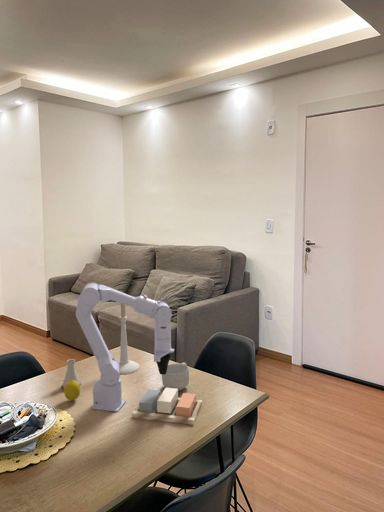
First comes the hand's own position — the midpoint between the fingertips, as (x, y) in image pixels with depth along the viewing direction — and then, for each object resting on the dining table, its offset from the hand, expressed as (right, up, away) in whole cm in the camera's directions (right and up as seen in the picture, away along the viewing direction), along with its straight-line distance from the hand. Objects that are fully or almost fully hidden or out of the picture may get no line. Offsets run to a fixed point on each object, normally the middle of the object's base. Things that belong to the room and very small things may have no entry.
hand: (163, 373), depth 146 cm
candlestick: (-19, -7, +31) cm, 37 cm away
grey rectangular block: (-4, -11, -4) cm, 12 cm away
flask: (-37, -9, +15) cm, 41 cm away
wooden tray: (+2, -11, -5) cm, 13 cm away
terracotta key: (+8, -11, -7) cm, 15 cm away
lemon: (-33, -11, +1) cm, 34 cm away
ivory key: (+2, -9, -5) cm, 11 cm away
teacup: (+5, -9, +13) cm, 17 cm away
